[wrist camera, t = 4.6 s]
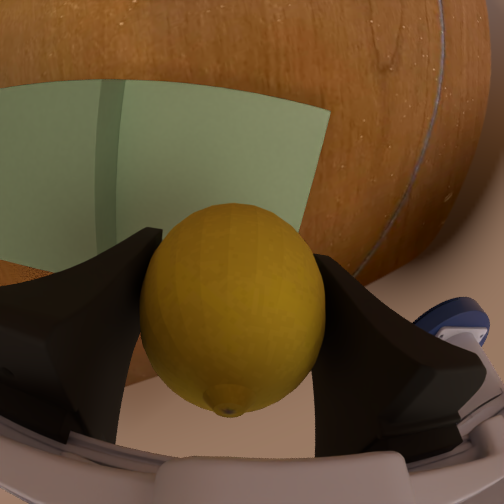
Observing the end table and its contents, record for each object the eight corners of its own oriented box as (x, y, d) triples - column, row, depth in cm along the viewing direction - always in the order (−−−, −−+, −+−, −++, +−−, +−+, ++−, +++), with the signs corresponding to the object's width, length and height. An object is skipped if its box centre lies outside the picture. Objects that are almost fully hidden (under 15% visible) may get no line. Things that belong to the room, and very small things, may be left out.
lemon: (322, 199, 12) (408, 351, 5) (273, 302, 15) (291, 461, 8) (187, 156, 11) (99, 281, 4) (160, 273, 14) (108, 430, 7)
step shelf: (281, 276, 22) (293, 341, 16) (-75, 213, 17) (-109, 241, 12) (327, 110, 16) (369, 122, 11) (-84, 111, 12) (-125, 128, 6)
